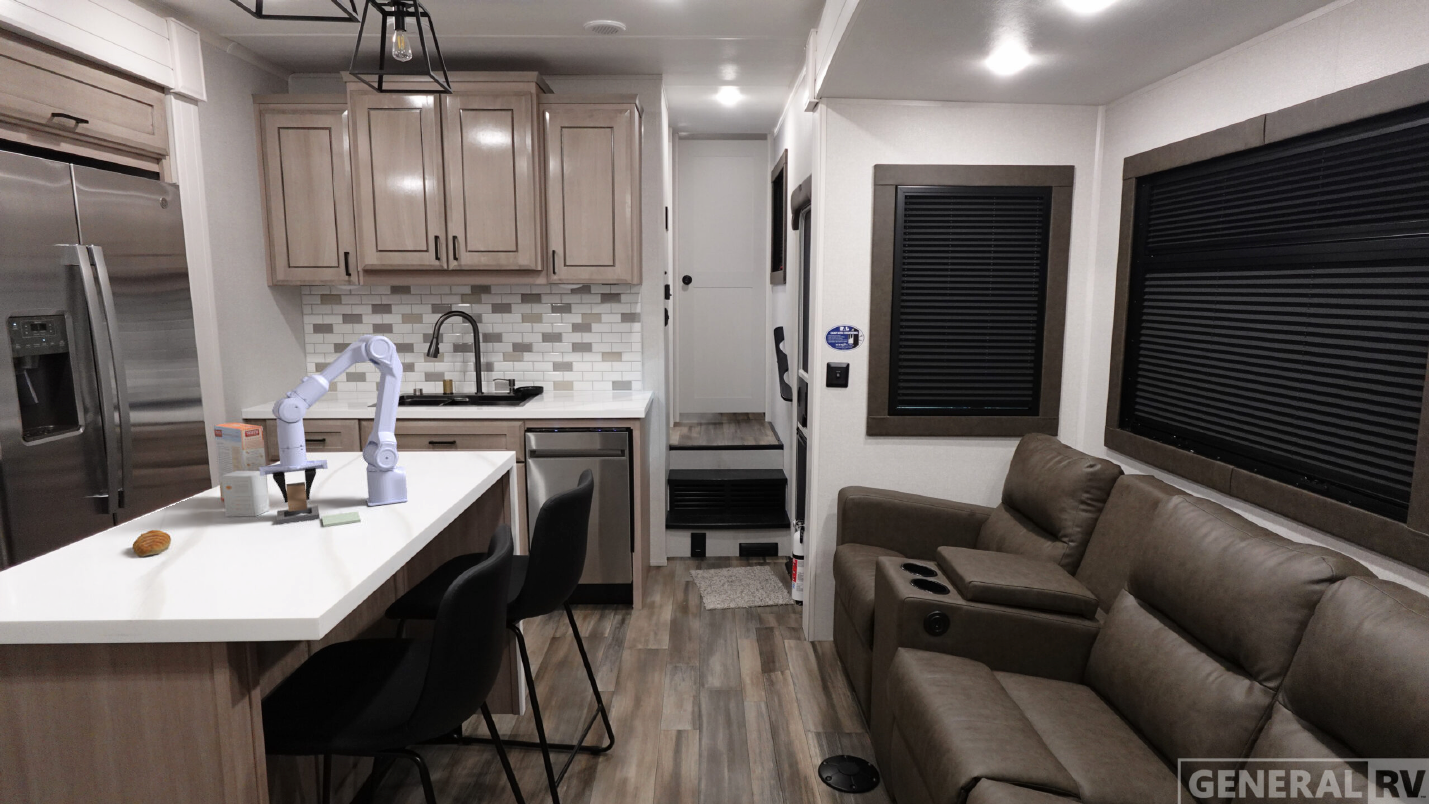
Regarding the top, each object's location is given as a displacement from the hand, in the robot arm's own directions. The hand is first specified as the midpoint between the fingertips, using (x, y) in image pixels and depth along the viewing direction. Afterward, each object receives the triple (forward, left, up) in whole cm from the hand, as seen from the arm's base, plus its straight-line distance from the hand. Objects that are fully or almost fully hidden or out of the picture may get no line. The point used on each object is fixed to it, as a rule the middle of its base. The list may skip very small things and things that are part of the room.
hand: (297, 500), depth 185 cm
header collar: (0, 0, -4) cm, 4 cm away
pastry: (+28, +11, -5) cm, 30 cm away
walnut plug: (0, 0, -2) cm, 2 cm away
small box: (+11, -10, -5) cm, 16 cm away
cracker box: (+12, -23, -4) cm, 27 cm away
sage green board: (-9, +9, -4) cm, 13 cm away
